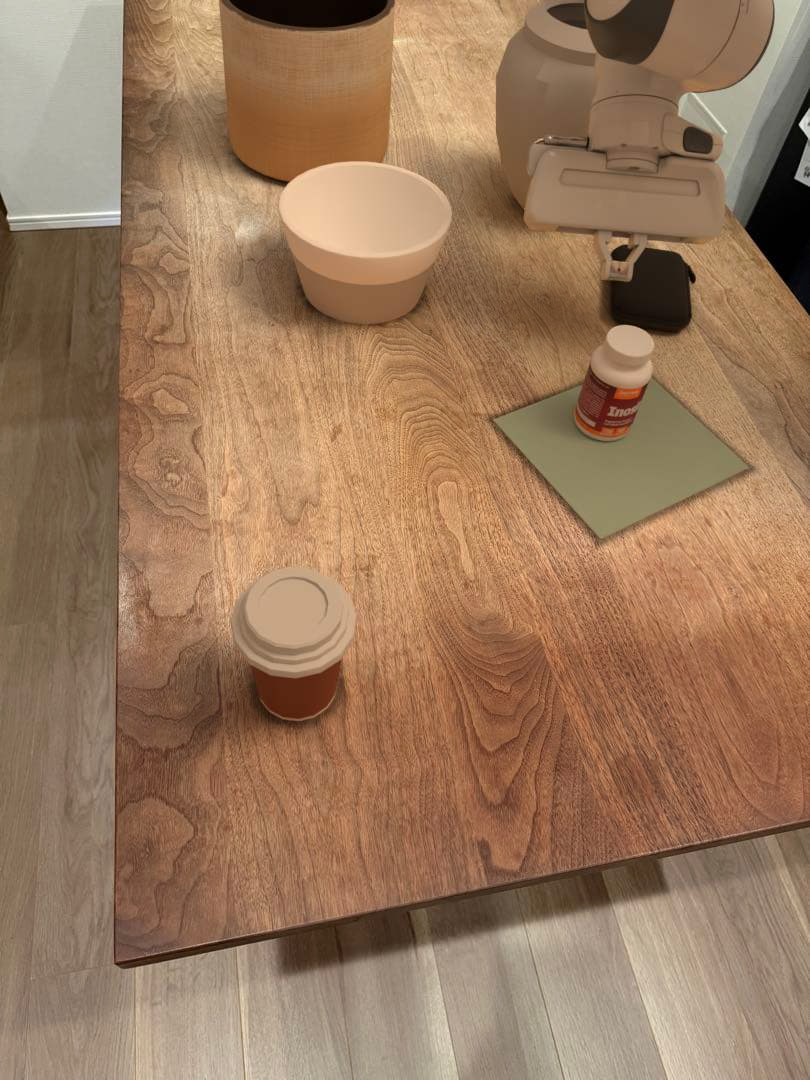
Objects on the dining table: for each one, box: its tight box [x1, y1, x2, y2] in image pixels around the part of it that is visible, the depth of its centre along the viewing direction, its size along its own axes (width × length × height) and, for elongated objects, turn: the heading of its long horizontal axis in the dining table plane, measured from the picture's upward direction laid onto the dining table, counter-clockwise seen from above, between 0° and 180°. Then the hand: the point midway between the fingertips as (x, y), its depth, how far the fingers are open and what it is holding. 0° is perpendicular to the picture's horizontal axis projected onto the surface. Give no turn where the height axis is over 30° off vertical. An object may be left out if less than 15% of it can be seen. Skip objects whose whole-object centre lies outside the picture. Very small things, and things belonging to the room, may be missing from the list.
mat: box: [492, 376, 750, 540], centre depth 91 cm, size 20×18×1 cm
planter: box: [218, 0, 396, 184], centre depth 116 cm, size 22×22×20 cm
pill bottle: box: [574, 324, 655, 441], centre depth 88 cm, size 6×6×11 cm
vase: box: [495, 0, 596, 211], centre depth 109 cm, size 20×20×24 cm
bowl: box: [277, 161, 453, 325], centre depth 100 cm, size 19×19×11 cm
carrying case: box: [608, 243, 697, 333], centre depth 106 cm, size 11×3×15 cm
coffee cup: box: [230, 565, 358, 722], centre depth 67 cm, size 9×9×12 cm
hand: (615, 280), depth 91 cm, fingers closed
